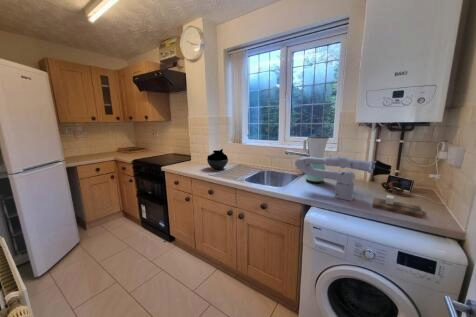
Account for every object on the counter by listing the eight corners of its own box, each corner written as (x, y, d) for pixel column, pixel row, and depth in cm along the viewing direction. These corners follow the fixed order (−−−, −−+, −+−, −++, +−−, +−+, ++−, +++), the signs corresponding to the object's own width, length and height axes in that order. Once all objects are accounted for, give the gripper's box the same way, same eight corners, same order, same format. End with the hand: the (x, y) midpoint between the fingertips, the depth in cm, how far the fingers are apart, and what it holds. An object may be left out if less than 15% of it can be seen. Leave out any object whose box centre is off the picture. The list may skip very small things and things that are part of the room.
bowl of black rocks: (212, 172, 178) (211, 152, 174) (204, 168, 195) (203, 149, 191) (231, 169, 187) (231, 150, 183) (223, 165, 204) (222, 147, 201)
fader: (385, 204, 105) (386, 197, 105) (385, 200, 109) (386, 194, 109) (392, 205, 104) (393, 199, 103) (392, 202, 107) (393, 196, 107)
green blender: (329, 181, 150) (333, 135, 143) (321, 186, 141) (325, 136, 134) (305, 176, 163) (308, 134, 157) (297, 180, 154) (299, 135, 147)
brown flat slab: (372, 207, 107) (372, 203, 106) (373, 200, 115) (374, 197, 115) (422, 218, 95) (422, 214, 94) (419, 210, 103) (420, 206, 103)
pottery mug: (400, 191, 131) (406, 183, 125) (398, 201, 125) (405, 193, 120) (379, 184, 136) (384, 176, 131) (377, 193, 131) (382, 185, 126)
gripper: (360, 162, 106) (391, 167, 98) (364, 155, 116) (393, 159, 108) (358, 174, 108) (388, 180, 100) (362, 166, 119) (390, 170, 111)
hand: (390, 170), depth 104 cm, fingers open, 7 cm apart
